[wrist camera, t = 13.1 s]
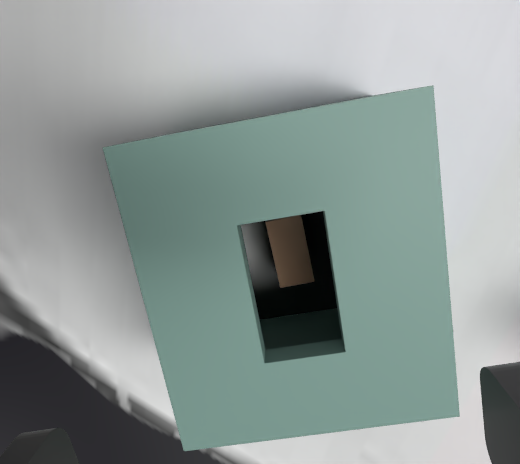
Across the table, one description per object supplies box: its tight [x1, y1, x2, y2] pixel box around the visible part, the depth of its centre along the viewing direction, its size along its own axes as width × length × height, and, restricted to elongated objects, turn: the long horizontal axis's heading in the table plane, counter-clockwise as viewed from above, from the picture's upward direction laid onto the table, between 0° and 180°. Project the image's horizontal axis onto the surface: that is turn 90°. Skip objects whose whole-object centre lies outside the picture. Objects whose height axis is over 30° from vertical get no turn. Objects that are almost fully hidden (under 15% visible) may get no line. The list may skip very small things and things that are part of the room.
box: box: [103, 86, 460, 451], centre depth 30 cm, size 16×18×14 cm
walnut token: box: [265, 215, 314, 288], centre depth 34 cm, size 2×5×6 cm, turn 13°
